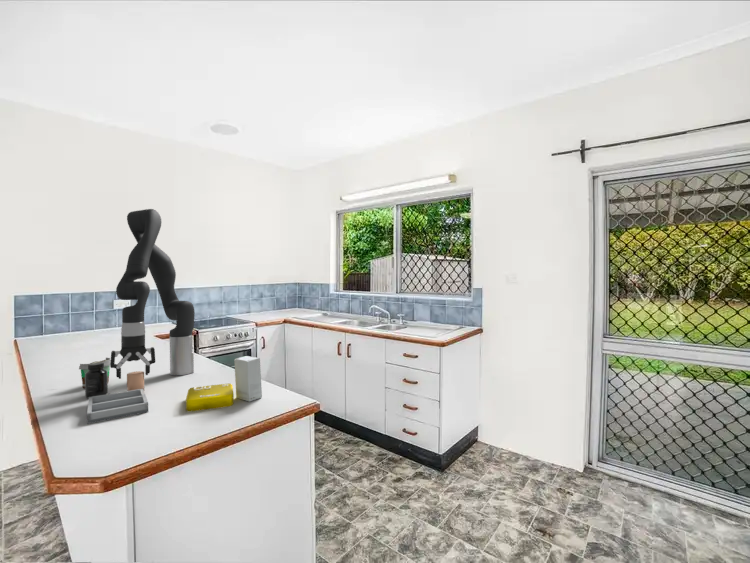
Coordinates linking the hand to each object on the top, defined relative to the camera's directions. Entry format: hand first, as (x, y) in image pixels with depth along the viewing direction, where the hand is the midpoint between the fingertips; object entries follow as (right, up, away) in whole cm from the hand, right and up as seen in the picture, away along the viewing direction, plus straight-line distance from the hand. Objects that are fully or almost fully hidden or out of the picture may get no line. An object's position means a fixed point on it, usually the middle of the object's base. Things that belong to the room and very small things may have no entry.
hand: (133, 376), depth 140 cm
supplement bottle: (-13, -7, -1) cm, 15 cm away
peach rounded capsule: (+1, -7, 0) cm, 7 cm away
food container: (-21, -7, +12) cm, 25 cm away
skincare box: (+45, -7, -4) cm, 46 cm away
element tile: (+33, -8, -8) cm, 35 cm away
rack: (+5, -7, -15) cm, 17 cm away
